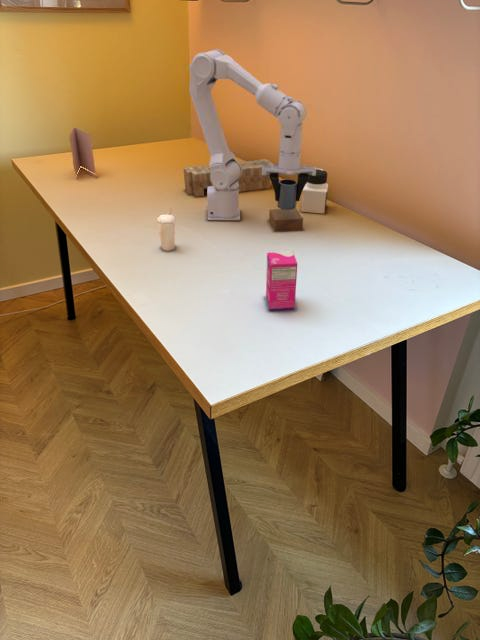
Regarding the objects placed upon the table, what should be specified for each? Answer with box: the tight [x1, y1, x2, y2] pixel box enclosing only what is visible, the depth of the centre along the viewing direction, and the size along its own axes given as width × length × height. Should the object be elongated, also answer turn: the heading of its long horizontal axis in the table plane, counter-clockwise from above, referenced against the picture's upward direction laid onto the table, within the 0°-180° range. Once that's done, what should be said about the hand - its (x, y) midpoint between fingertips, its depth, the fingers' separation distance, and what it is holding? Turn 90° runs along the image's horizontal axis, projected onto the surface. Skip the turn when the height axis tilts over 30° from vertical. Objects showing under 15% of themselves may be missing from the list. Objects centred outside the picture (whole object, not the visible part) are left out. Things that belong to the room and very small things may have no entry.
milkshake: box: [156, 207, 176, 252], centre depth 134 cm, size 5×5×10 cm
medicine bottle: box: [300, 168, 329, 215], centre depth 157 cm, size 7×7×12 cm
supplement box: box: [265, 250, 298, 312], centre depth 111 cm, size 6×6×12 cm
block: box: [268, 207, 304, 233], centre depth 149 cm, size 8×8×4 cm
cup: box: [276, 178, 298, 210], centre depth 145 cm, size 5×5×7 cm
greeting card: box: [68, 127, 97, 181], centre depth 181 cm, size 11×7×15 cm, turn 6°
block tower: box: [183, 158, 275, 198], centre depth 172 cm, size 8×8×29 cm
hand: (286, 199), depth 145 cm, fingers closed on cup, 5 cm apart
